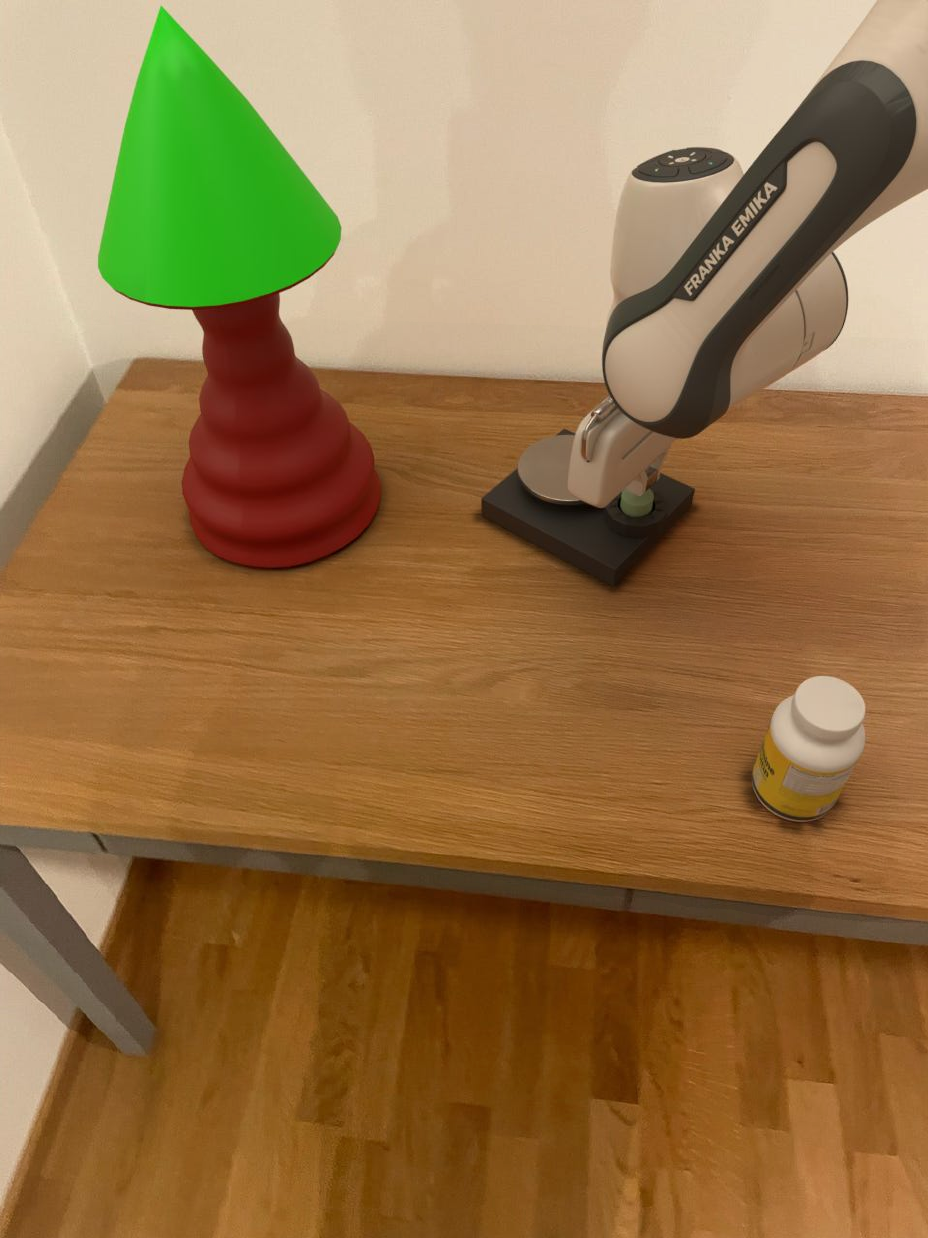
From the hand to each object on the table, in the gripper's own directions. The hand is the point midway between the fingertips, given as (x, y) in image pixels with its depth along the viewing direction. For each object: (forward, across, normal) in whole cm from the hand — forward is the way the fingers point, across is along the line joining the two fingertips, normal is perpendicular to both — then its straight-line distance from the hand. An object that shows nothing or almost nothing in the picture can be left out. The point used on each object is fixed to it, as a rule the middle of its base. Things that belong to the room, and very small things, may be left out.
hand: (642, 485), depth 86 cm
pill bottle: (+7, -16, -25) cm, 31 cm away
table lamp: (+6, -18, +31) cm, 37 cm away
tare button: (+3, 0, 0) cm, 3 cm away
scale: (+6, 0, +6) cm, 8 cm away
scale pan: (+2, 0, +8) cm, 9 cm away
